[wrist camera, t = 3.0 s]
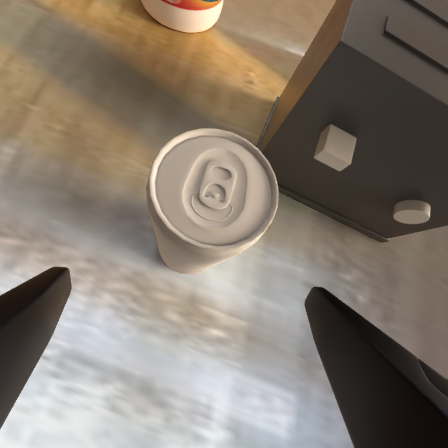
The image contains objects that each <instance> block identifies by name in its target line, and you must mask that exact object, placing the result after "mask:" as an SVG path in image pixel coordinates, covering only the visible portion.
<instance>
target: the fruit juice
mask: <svg viewBox="0 0 448 448" xmlns="http://www.w3.org/2000/svg"><path fill="white" fill-rule="evenodd" d="M141 2H142V4H143V6H144V8H145V9H146V11H147V12H148V13H149V14H150V15H151V16H152V17H153V18H154V19H155V20H157V21H158V22H160V23H161V24H163V25H165V26H167V27H169V28H171V29H174V30H177V31H181V32H189V33H195V32H202V31H205V30H207V29H209V28H211V27H212V26H213V25H214V24H215V23H216V22H217V20H218V18H219V16H220V13H221V9H222V5H223V0H141Z"/></svg>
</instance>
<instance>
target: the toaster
mask: <svg viewBox="0 0 448 448" xmlns="http://www.w3.org/2000/svg"><path fill="white" fill-rule="evenodd" d="M256 148H258V149H259V150H260V151H261V153H262V154H263V155H264V156H265V158H266V159H267V160H268V161H269V163H270V165H271V167H272V170H273V172H274V174H275V176H276V181H277V185H278V191H279V192H281V193H283V194H285V195H287V196H289V197H291V198H293V199H295V200H297V201H299V202H301V203H303V204H305V205H307V206H309V207H311V208H313V209H315V210H317V211H319V212H321V213H324V214H326V215H328V216H330V217H332V218H334V219H336V220H338V221H340V222H342V223H344V224H346V225H348V226H350V227H352V228H354V229H356V230H358V231H360V232H362V233H364V234H366V235H368V236H370V237H372V238H374V239H376V240H378V241H380V242H387V241H389V238H392V237H397V236H401V235H406V234H410V233H415V232H420V231H424V230H429V229H433V228H438V227H442V226H447V225H448V0H337V1H336V2H335V4H334V6H333V8H332V9H331V11H330V13H329V14H328V16H327V18H326V19H325V21H324V23H323V25H322V26H321V28H320V30H319V31H318V33H317V35H316V36H315V38H314V40H313V41H312V43H311V45H310V47H309V48H308V50H307V52H306V53H305V55H304V57H303V58H302V60H301V62H300V64H299V65H298V67H297V69H296V70H295V72H294V74H293V75H292V77H291V79H290V80H289V82H288V84H287V86H286V87H285V89H284V91H283V92H282V94H281V96H280V97H277V99H276V100H275V102H274V105H273V107H272V109H271V112H270V114H269V117H268V119H267V122H266V124H265V126H264V129H263V131H262V134H261V136H260V138H259V141H258V143H257V146H256Z"/></svg>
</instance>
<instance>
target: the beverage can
mask: <svg viewBox="0 0 448 448" xmlns="http://www.w3.org/2000/svg"><path fill="white" fill-rule="evenodd" d="M147 205H148V210H149V214H150V218H151V222H152V226H153V229H154V233H155V237H156V241H157V245H158V249H159V252H160V255H161V258H162V260H163V261H164V262H165V264H166V265H167V266H168V267H170V268H171V269H172V270H174V271H176V272H179V273H183V274H193V273H198V272H200V271H202V270H205V269H207V268H209V267H211V266H213V265H215V264H217V263H219V262H221V261H223V260H226V259H228V258H230V257H232V256H234V255H236V254H238V253H240V252H242V251H245V250H246V249H248V248H249V247H250V246H251V245H253V244H254V243H255V242H256V241H257V240H259V239H260V237H261V236H262V234H263V233H264V232H265V231H266V229H267V228H268V226H269V225H270V223H271V222H272V221H273V218H274V215H275V212H276V209H277V206H278V185H277V181H276V176H275V174H274V172H273V170H272V167H271V165H270V163H269V161H268V160H267V159H266V158H265V156H264V155H263V154H262V153H261V151H260V150H259V149H258V148H256V147H255V146H254V145H253V144H251V143H250V142H249V141H248V140H246V139H244V138H242V137H240V136H238V135H237V134H235V133H232V132H229V131H225V130H221V129H214V128H200V129H195V130H190V131H186V132H184V133H182V134H180V135H178V136H176V137H174V138H172V139H171V140H170V141H169V142H168V143H167V144H166V145H164V146H163V147H162V148H161V149H160V151H159V153H158V154H157V156H156V158H155V159H154V161H153V163H152V167H151V171H150V175H149V179H148V184H147Z"/></svg>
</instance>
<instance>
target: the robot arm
mask: <svg viewBox="0 0 448 448" xmlns="http://www.w3.org/2000/svg"><path fill="white" fill-rule="evenodd" d="M71 287H72V286H71V278H70V271H69V269H68V268H66V267H52V268H50V269H48V270H46V271H44V272H42V273H41V274H39V275H37V276H35V277H33V278H32V279H30V280H28V281H26V282H24V283H22V284H21V285H19V286H17V287H15V288H13V289H11V290H10V291H8V292H6V293H4V294H2V295H0V429H1V427H2V425H3V423H4V422H5V420H6V418H7V416H8V414H9V413H10V411H11V409H12V407H13V406H14V404H15V402H16V400H17V398H18V397H19V395H20V393H21V391H22V389H23V388H24V386H25V384H26V382H27V380H28V379H29V377H30V375H31V373H32V371H33V370H34V368H35V366H36V364H37V363H38V361H39V359H40V357H41V355H42V354H43V352H44V350H45V348H46V346H47V345H48V343H49V341H50V339H51V337H52V335H53V332H54V330H55V328H56V325H57V323H58V321H59V318H60V316H61V314H62V311H63V309H64V307H65V304H66V302H67V299H68V297H69V295H70V292H71ZM305 309H306V312H307V316H308V320H309V323H310V327H311V331H312V334H313V338H314V341H315V344H316V347H317V350H318V353H319V355H320V358H321V361H322V363H323V366H324V369H325V371H326V374H327V376H328V379H329V382H330V384H331V387H332V390H333V392H334V395H335V398H336V400H337V403H338V406H339V408H340V411H341V414H342V416H343V419H344V422H345V424H346V427H347V430H348V432H349V435H350V438H351V440H352V443H353V445H354V448H448V380H447V379H446V378H444V377H443V376H442V375H440V374H439V373H437V372H436V371H435V370H433V369H432V368H431V367H429V366H428V365H427V364H425V363H424V362H423V361H421V360H420V359H417V357H416V356H414V355H413V354H412V353H410V352H409V351H408V350H406V349H405V348H404V347H402V346H401V345H400V344H398V343H397V342H396V341H394V340H393V339H392V338H390V337H389V336H388V335H386V334H385V333H384V332H382V331H381V330H380V329H378V328H377V327H376V326H374V325H373V324H372V323H370V322H369V321H367V320H366V319H365V318H363V317H362V316H361V315H359V314H358V313H357V312H355V311H354V310H353V309H351V308H350V307H349V306H347V305H346V304H345V303H343V302H342V301H341V300H339V299H338V298H337V297H335V296H334V295H333V294H331V293H330V292H329V291H327V290H326V289H325V288H322V287H313V288H312V289H311V290H310V292H309V294H308V296H307V298H306V300H305Z"/></svg>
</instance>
